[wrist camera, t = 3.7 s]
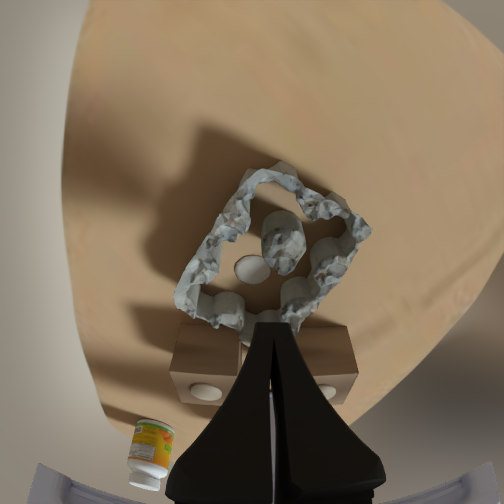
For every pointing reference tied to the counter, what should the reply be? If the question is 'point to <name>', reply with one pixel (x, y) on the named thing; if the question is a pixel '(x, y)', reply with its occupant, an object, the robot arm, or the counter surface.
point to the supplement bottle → (150, 453)
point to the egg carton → (271, 256)
